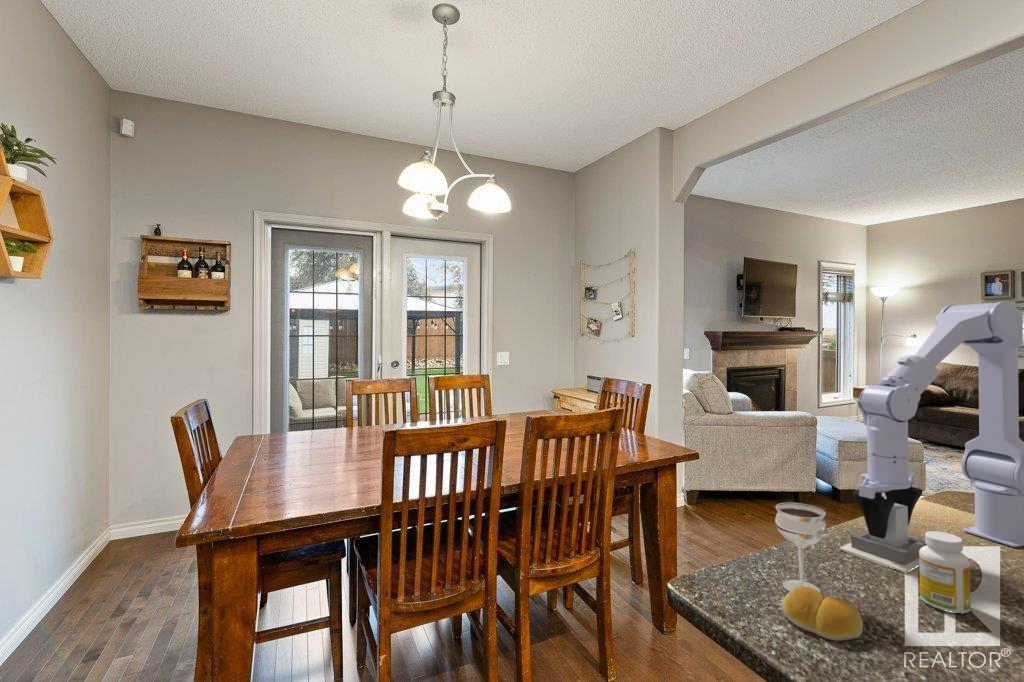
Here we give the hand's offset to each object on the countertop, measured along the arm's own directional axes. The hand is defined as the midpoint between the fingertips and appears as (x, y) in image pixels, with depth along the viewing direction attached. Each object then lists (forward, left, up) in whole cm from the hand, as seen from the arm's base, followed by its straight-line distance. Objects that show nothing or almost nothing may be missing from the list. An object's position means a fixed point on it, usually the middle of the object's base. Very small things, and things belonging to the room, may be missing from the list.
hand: (888, 531), depth 85 cm
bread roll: (+29, +12, -4) cm, 31 cm away
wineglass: (+24, +4, -4) cm, 25 cm away
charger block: (0, 0, -3) cm, 3 cm away
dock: (0, 0, -4) cm, 4 cm away
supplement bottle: (+9, +14, -4) cm, 17 cm away
